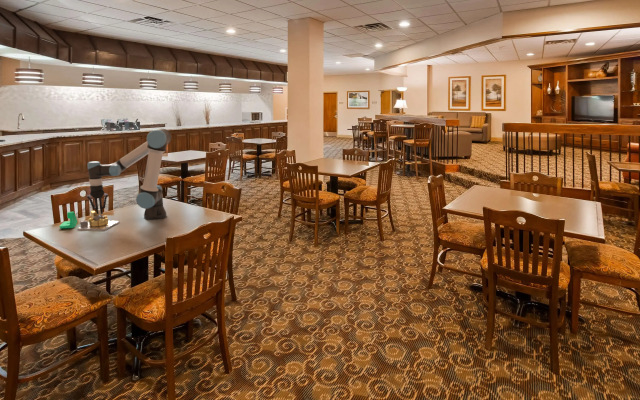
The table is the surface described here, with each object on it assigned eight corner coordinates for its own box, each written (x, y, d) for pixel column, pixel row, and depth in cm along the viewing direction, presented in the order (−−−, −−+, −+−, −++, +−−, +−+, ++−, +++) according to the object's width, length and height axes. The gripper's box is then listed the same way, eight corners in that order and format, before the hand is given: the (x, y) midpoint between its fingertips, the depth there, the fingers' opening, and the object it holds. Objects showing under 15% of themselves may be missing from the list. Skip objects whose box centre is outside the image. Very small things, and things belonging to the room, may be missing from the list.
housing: (119, 222, 276) (118, 212, 274) (105, 230, 258) (103, 219, 257) (92, 222, 276) (91, 212, 275) (76, 229, 259) (74, 219, 257)
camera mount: (64, 225, 270) (62, 210, 267) (77, 224, 272) (75, 209, 269) (59, 230, 258) (57, 214, 256) (72, 229, 261) (70, 214, 258)
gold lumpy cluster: (110, 223, 267) (109, 213, 266) (93, 227, 259) (92, 216, 258) (101, 219, 277) (100, 209, 276) (84, 222, 270) (83, 212, 268)
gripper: (107, 183, 275) (111, 216, 280) (85, 184, 269) (90, 218, 275) (106, 185, 268) (110, 219, 273) (84, 186, 263) (89, 221, 268)
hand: (100, 218), depth 274 cm, fingers closed
